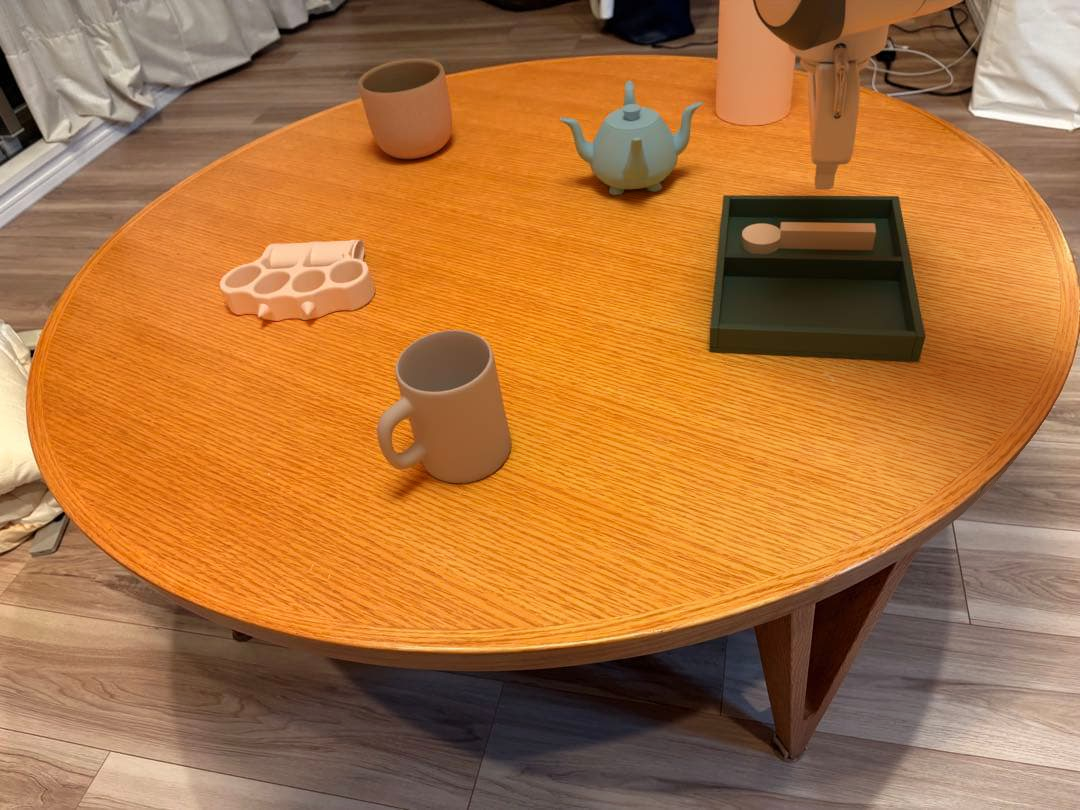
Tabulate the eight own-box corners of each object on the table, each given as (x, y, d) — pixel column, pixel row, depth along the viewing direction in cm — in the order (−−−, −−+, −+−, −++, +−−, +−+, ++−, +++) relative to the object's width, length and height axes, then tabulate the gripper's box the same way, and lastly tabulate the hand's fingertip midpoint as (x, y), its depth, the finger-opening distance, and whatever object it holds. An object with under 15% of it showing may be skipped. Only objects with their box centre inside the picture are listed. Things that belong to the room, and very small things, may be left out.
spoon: (870, 235, 93) (874, 216, 91) (873, 257, 90) (877, 238, 88) (741, 233, 96) (743, 215, 95) (740, 254, 93) (741, 235, 91)
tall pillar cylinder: (748, 88, 126) (759, -97, 109) (805, 106, 119) (827, -89, 102) (700, 113, 122) (704, -77, 105) (757, 132, 115) (772, -66, 98)
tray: (893, 219, 96) (898, 195, 94) (919, 362, 78) (925, 336, 76) (722, 217, 100) (723, 194, 98) (709, 352, 82) (710, 327, 80)
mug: (473, 405, 80) (452, 316, 73) (530, 447, 75) (514, 356, 68) (372, 473, 75) (339, 384, 68) (426, 523, 70) (397, 433, 63)
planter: (414, 123, 130) (398, 53, 123) (474, 136, 124) (461, 64, 117) (359, 157, 124) (339, 86, 116) (420, 173, 118) (402, 99, 110)
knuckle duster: (391, 253, 103) (362, 325, 92) (256, 260, 105) (213, 331, 95) (384, 230, 100) (354, 301, 90) (246, 237, 103) (202, 307, 92)
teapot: (703, 175, 108) (705, 100, 101) (635, 217, 102) (633, 141, 96) (631, 149, 116) (628, 78, 109) (564, 187, 110) (557, 114, 103)
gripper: (883, 69, 69) (860, 215, 78) (867, -11, 83) (848, 121, 92) (805, 72, 70) (791, 214, 80) (802, -7, 85) (790, 122, 94)
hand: (822, 163), depth 86 cm, fingers open, 8 cm apart
